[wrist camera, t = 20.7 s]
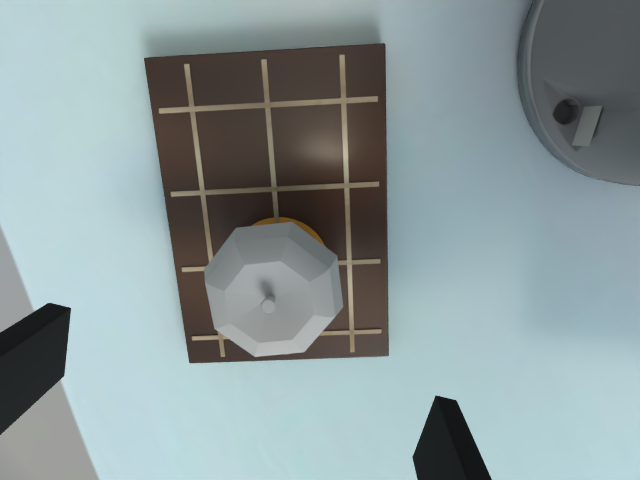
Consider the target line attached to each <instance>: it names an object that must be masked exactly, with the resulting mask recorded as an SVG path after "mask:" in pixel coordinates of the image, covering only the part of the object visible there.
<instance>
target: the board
mask: <svg viewBox="0 0 640 480" xmlns="http://www.w3.org/2000/svg"><path fill="white" fill-rule="evenodd" d="M144 61H145V68H146V75H147V82H148V88H149V95H150V102H151V109H152V115H153V122H154V129H155V135H156V142H157V149H158V156H159V162H160V169H161V176H162V182H163V189H164V196H165V203H166V209H167V216H168V223H169V230H170V236H171V243H172V250H173V256H174V263H175V270H176V277H177V283H178V290H179V297H180V303H181V310H182V317H183V324H184V330H185V337H186V344H187V351H188V357H189V363H211V362H239V361H267V360H295V359H323V358H351V357H379V356H388V355H389V338H388V245H387V152H386V58H385V44H384V43H382V44H365V45H348V46H332V47H315V48H298V49H282V50H265V51H248V52H232V53H215V54H198V55H182V56H165V57H148V58H144ZM286 222H293V223H295V224H296V225H297V226H299V227H300V228H301V229H303V230H304V231H305V232H307V233H308V234H309V235H310V236H312V237H313V238H314V239H316V240H317V241H318V242H320V243H321V244H322V245H324V246H325V247H326V248H328V249H329V250H330V251H332V252H333V253H334V254H336V255H337V258H338V267H339V275H340V284H341V292H342V300H343V308H342V309H341V310H340V311H339V313H338V314H337V315H336V317H335V318H334V319H333V320H332V321H331V322H330V323H329V324H328V326H327V327H326V328H325V329H324V330H323V331H322V332H321V334H320V335H319V336H318V337H317V338H316V339H315V340H314V342H313V343H312V344H311V345H310V346H309V347H308V348H307V350H306V351H305V352H301V353H291V354H280V355H270V356H259V357H254V356H253V355H252V354H250V353H249V352H247V351H246V350H244V349H243V348H242V347H240V346H239V345H237V344H236V343H234V342H233V341H231V340H230V339H229V338H227V337H226V336H224V335H223V334H221V333H220V332H218V331H217V330H216V329H214V324H213V319H212V314H211V309H210V304H209V300H208V295H207V290H206V285H205V274H204V269H205V268H206V266H207V265H208V264H209V263H210V261H211V260H212V259H213V257H214V256H215V255H216V253H217V252H218V251H219V249H220V248H221V247H222V246H223V244H224V243H225V242H226V240H227V239H228V238H229V236H230V235H231V234H232V232H233V231H234V230H235V229H236V228H239V227H248V226H258V225H267V224H276V223H286Z"/></svg>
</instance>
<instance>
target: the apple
mask: <svg viewBox="0 0 640 480" xmlns="http://www.w3.org/2000/svg"><path fill="white" fill-rule="evenodd" d="M204 274H205V285H206V290H207V295H208V300H209V304H210V309H211V314H212V319H213V324H214V329H216V330H217V331H218V332H220V333H221V334H223V335H224V336H226V337H227V338H229V339H230V340H231V341H233V342H234V343H236V344H237V345H239V346H240V347H242V348H243V349H244V350H246V351H247V352H249V353H250V354H252V355H253V356H254V357H259V356H270V355H280V354H291V353H301V352H305V351H306V350H307V348H308V347H309V346H310V345H311V344H312V343H313V342H314V340H315V339H316V338H317V337H318V336H319V335H320V334H321V332H322V331H323V330H324V329H325V328H326V327H327V326H328V324H329V323H330V322H331V321H332V320H333V319H334V318H335V317H336V315H337V314H338V313H339V311H340V310H341V309H342V308H343V300H342V292H341V284H340V275H339V267H338V258H337V255H336V254H334V253H333V252H332V251H330V250H329V249H328V248H326V247H325V246H324V245H322V244H321V243H320V242H318V241H317V240H316V239H314V238H313V237H312V236H310V235H309V234H308V233H307V232H305V231H304V230H303V229H301V228H300V227H299V226H297V225H296V224H295V223H293V222H286V223H276V224H267V225H258V226H248V227H239V228H236V229H235V230H234V231H233V232H232V234H231V235H230V236H229V238H228V239H227V240H226V242H225V243H224V244H223V246H222V247H221V248H220V249H219V251H218V252H217V253H216V255H215V256H214V257H213V259H212V260H211V261H210V263H209V264H208V265H207V266H206V268H205V269H204Z"/></svg>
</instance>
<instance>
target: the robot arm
mask: <svg viewBox="0 0 640 480" xmlns="http://www.w3.org/2000/svg"><path fill="white" fill-rule="evenodd" d="M518 82H519V90H520V96H521V101H522V104H523V108H524V111H525V114H526V116H527V119H528V121H529V123H530V125H531V127H532V129H533V131H534V133H535V134H536V136H537V137H538V139H539V140H540V142H541V143H542V144H543V145H544V147H545V148H546V149H547V150H548V151H549V152H550V153H551V154H552V155H553V156H554V157H555V158H556V159H558V160H559V161H560V162H562V163H563V164H564V165H566V166H568V167H569V168H571V169H573V170H574V171H576V172H579V173H581V174H583V175H586V176H589V177H592V178H595V179H599V180H604V181H609V182H614V183H619V184H625V185H634V186H640V0H534V2H533V4H532V6H531V9H530V11H529V14H528V16H527V19H526V22H525V26H524V29H523V32H522V37H521V42H520V48H519V57H518ZM70 312H71V308H69V307H65V306H61V305H56V304H52V303H48V304H46V305H44V306H43V307H41V308H40V309H38V310H36V311H35V312H33V313H32V314H30V315H28V316H27V317H25V318H23V319H22V320H21V321H19V322H17V323H15V324H14V325H12V326H11V327H9V328H7V329H6V330H4V331H2V332H1V333H0V435H1V434H2V433H3V432H4V431H5V430H6V429H7V428H8V427H9V426H10V425H12V423H14V422H15V421H16V420H17V419H18V418H19V417H20V416H21V415H22V414H23V413H25V411H27V410H28V409H29V408H30V407H31V406H32V405H33V404H34V403H35V402H36V401H38V400H39V399H40V398H41V397H42V396H43V395H44V394H45V393H46V392H47V391H48V390H49V389H50V388H52V387H53V386H54V385H55V384H56V383H57V382H58V381H59V380H60V379H61V378H62V377H64V373H65V363H66V353H67V343H68V332H69V322H70ZM413 462H414V466H415V470H416V474H417V478H418V480H492V479H491V477H490V475H489V472H488V470H487V468H486V466H485V463H484V461H483V459H482V457H481V454H480V452H479V450H478V448H477V446H476V443H475V441H474V439H473V437H472V434H471V432H470V430H469V428H468V425H467V423H466V421H465V419H464V416H463V414H462V412H461V410H460V407H459V405H458V403H457V401H456V400H453V399H448V398H444V397H440V396H435V399H434V401H433V404H432V407H431V410H430V412H429V415H428V418H427V420H426V423H425V426H424V428H423V431H422V434H421V436H420V439H419V442H418V444H417V447H416V450H415V452H414V455H413Z"/></svg>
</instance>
